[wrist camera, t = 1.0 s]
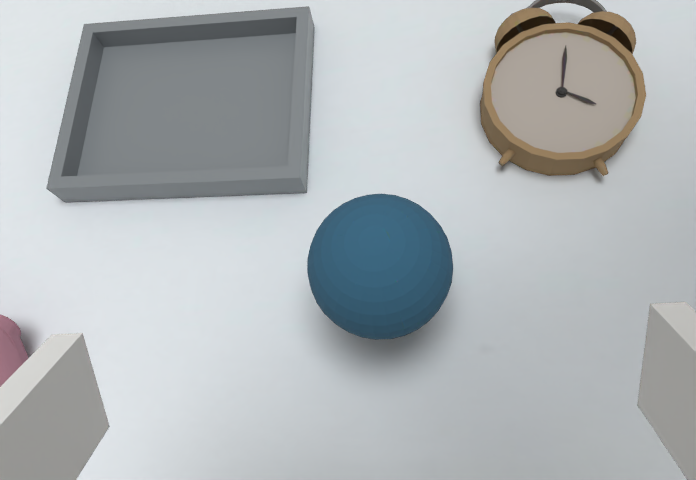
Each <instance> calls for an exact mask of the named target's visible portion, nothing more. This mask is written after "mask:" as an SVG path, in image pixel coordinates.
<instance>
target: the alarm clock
mask: <svg viewBox="0 0 696 480" xmlns="http://www.w3.org/2000/svg"><path fill="white" fill-rule="evenodd" d="M553 3H573V4H577V5H581V6H584V7H586V8H588V9H590V10H591V11H593V12H594V13H592V14H590V15H588V16H586V17H585V18H583V19H582V20H581V21H580V22H579V23H578V24H573V23H555V21H554V19H553V18H552V16H551V15H550V14H549V13H548V12H546V11H545V10H542V9H540V7H542V6H545V5H548V4H553ZM635 44H636V37H635V32H634V30H633V28H632V26H631V25H630V23H629V22H628V21H627V20H626V19H625V18H623V17H621V16H620V15H618V14H615V13H612V12H607V11H606V10H605V8H604V7H603V6H602V5H601V4H600V3H599V2H598V1H596V0H536V1H534V2H533V3H532V4H531V5H530V6H529V7H527V8H526V9H522V10H520V11H518V12H515V13H513V14H511V15H510V16H509V17H508V18H507V19H506V20H505V21H504V22H503V23H502V24H501V26H500V27H499V29H498V31H497V33H496V36H495V48H496V52H497V54H496V55H495V56H494V58H493V59H492V60H491V62H490V63H489V67H488V70H487V73H486V76H485V79H484V83H483V94H482V98H481V101H480V110H481V124H482V127H483V129H484V131H485V133H486V136H487V138H488V140H489V142H490V143H491V144H492V145H493V146H494V148H495V149H496V150H497V151H498V152H499V153H500V154H501V155H502V158H501V159H500V161H499V164H500V165H502V166H503V165H504V164H506V163H507V162H508V161H510V162H512V163H514V164H516V165H518V166H519V167H521V168H523V169H525V170H528V171H532V172H536V173H541V174H545V175H549V176H551V175H575V174H578V173H581V172H584V171H587V170H590V169H593V168H597V170H598V171H599V172H600V173H601V174H602V175H603V176H604V175H607V174H608V171H607V168H606V165H605V163H604V162H605V161H606V160H608V159H609V158H610V157H612V156H613V155H615V153H616V152H617V150H618V149H619V147H620V146H621V145H622V143H623V142H624V140H625V139H626V138H627V136H628V135H629V133H630V132H631V130H632V129H633V128H634V126H635V125H636V123H637V122H638V120H639V119H640V117H641V114H642V110H643V106H644V101H645V97H646V92H645V85H644V78H643V73H642V71H641V69H640V67H639V66H638V64H637V62H636V60H635V58H634V57H633V55H632V54H633V51H634V48H635Z"/></svg>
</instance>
